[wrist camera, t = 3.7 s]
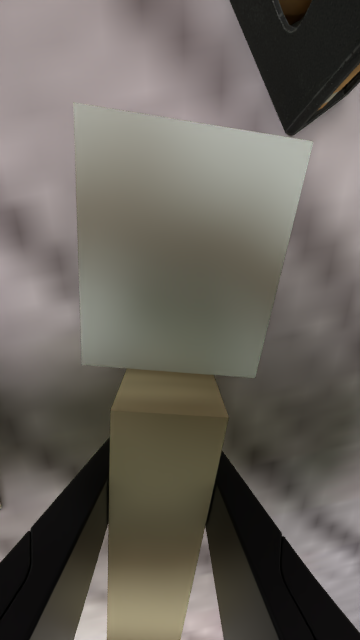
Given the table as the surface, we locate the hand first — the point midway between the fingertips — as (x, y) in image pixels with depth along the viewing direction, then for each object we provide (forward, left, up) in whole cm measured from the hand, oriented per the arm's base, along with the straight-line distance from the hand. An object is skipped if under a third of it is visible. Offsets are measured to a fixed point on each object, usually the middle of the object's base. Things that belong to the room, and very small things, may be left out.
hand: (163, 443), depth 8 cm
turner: (+1, 0, -1) cm, 1 cm away
